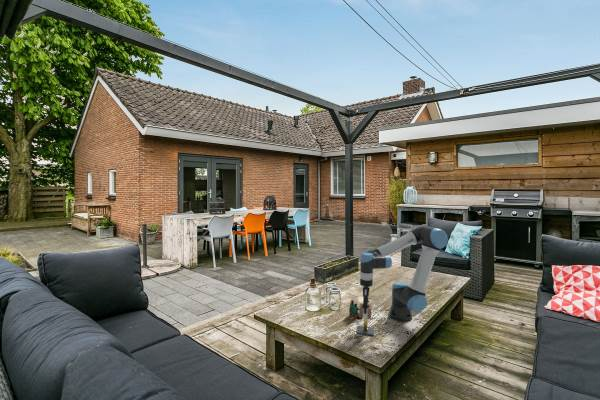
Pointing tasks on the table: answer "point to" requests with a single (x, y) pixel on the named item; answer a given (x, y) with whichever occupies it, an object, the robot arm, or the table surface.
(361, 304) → the link
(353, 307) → the binoculars
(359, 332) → the keeper
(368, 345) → the table surface
